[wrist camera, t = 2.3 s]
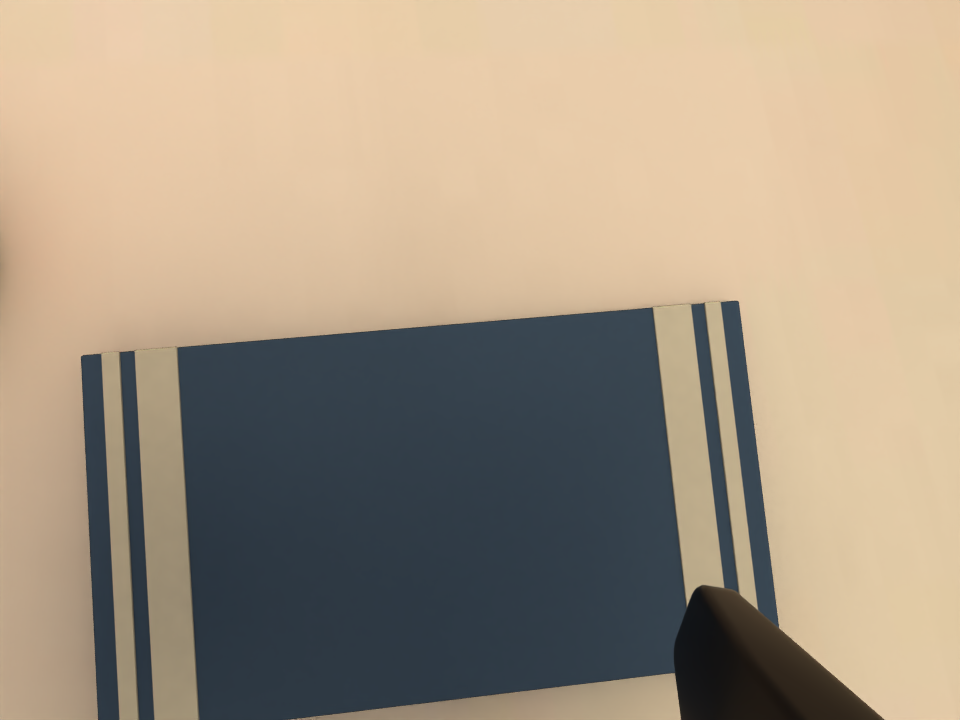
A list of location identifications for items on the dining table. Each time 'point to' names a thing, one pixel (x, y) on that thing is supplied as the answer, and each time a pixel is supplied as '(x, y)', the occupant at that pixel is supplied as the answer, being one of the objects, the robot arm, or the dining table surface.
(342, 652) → the towel
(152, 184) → the dining table surface
